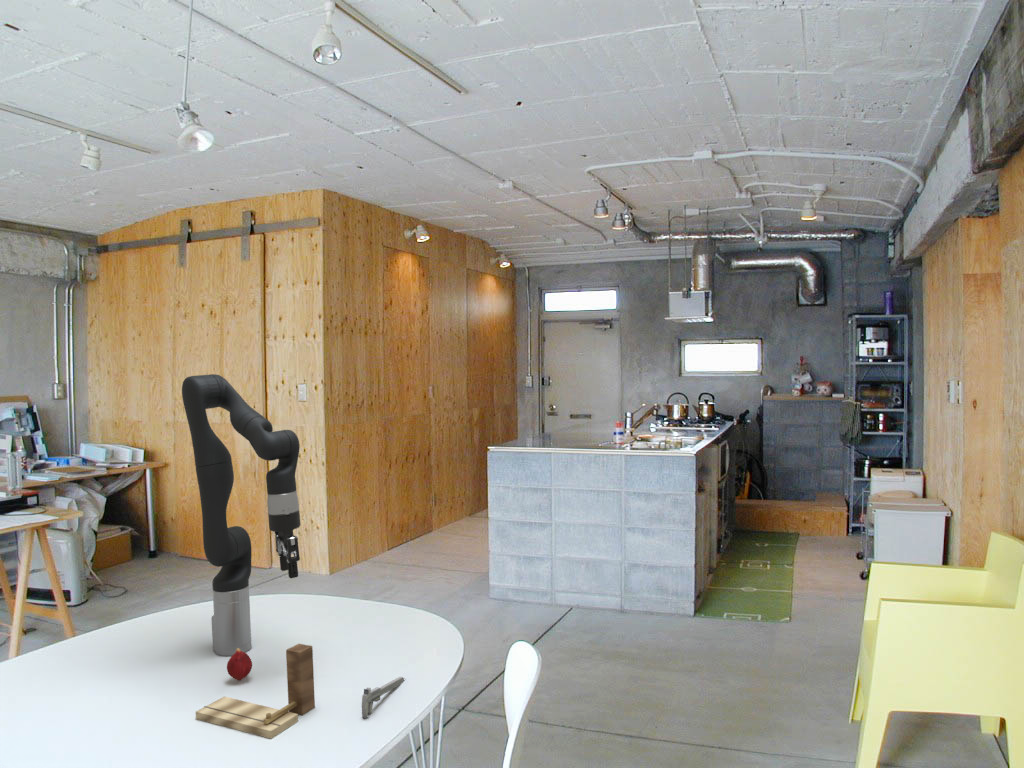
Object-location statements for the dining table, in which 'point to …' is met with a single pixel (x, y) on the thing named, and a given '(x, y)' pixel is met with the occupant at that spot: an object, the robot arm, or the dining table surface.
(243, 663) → the onion
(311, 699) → the block
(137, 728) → the dining table surface
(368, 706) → the caliper
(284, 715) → the board
